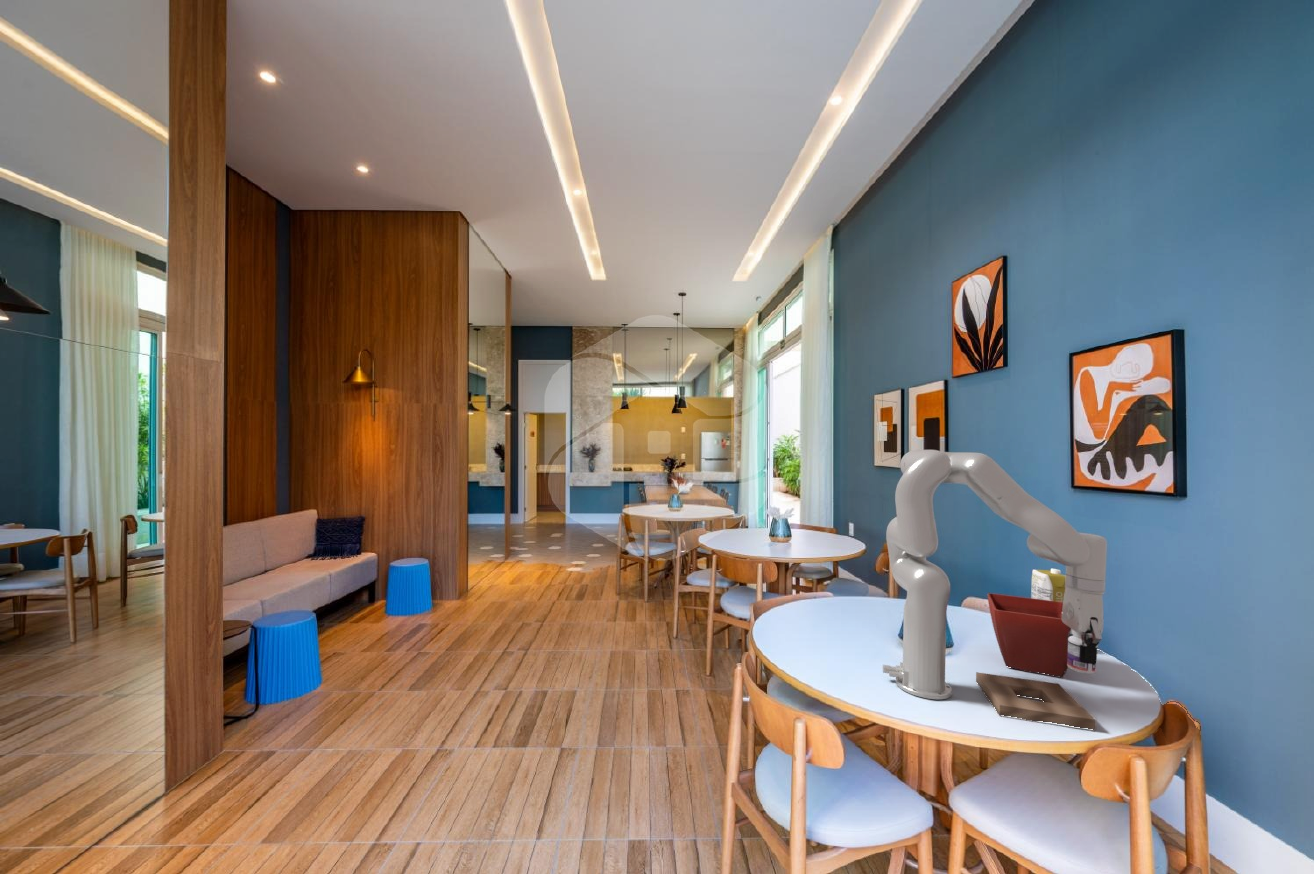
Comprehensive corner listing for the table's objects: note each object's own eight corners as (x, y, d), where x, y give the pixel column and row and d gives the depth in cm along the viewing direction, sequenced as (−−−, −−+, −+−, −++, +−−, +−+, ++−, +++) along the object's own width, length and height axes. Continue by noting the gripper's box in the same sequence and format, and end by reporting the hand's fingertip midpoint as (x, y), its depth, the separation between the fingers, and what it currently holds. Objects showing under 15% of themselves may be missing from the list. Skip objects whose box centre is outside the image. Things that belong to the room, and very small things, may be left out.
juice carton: (1073, 652, 155) (1074, 573, 155) (1044, 650, 156) (1045, 571, 157) (1054, 641, 164) (1055, 566, 165) (1027, 638, 165) (1028, 564, 166)
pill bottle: (1081, 665, 128) (1083, 626, 128) (1101, 675, 123) (1103, 634, 123) (1061, 664, 128) (1062, 625, 128) (1079, 674, 123) (1081, 633, 123)
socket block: (999, 716, 116) (999, 704, 116) (976, 681, 133) (976, 672, 133) (1095, 731, 110) (1095, 719, 110) (1058, 693, 128) (1058, 683, 128)
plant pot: (993, 670, 141) (994, 608, 141) (986, 646, 158) (987, 592, 158) (1081, 686, 132) (1082, 621, 132) (1064, 660, 149) (1064, 602, 149)
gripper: (1051, 574, 135) (1048, 643, 135) (1083, 590, 119) (1080, 669, 118) (1085, 578, 133) (1082, 648, 132) (1123, 595, 116) (1119, 675, 116)
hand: (1081, 657), depth 125 cm, fingers closed on pill bottle, 5 cm apart
